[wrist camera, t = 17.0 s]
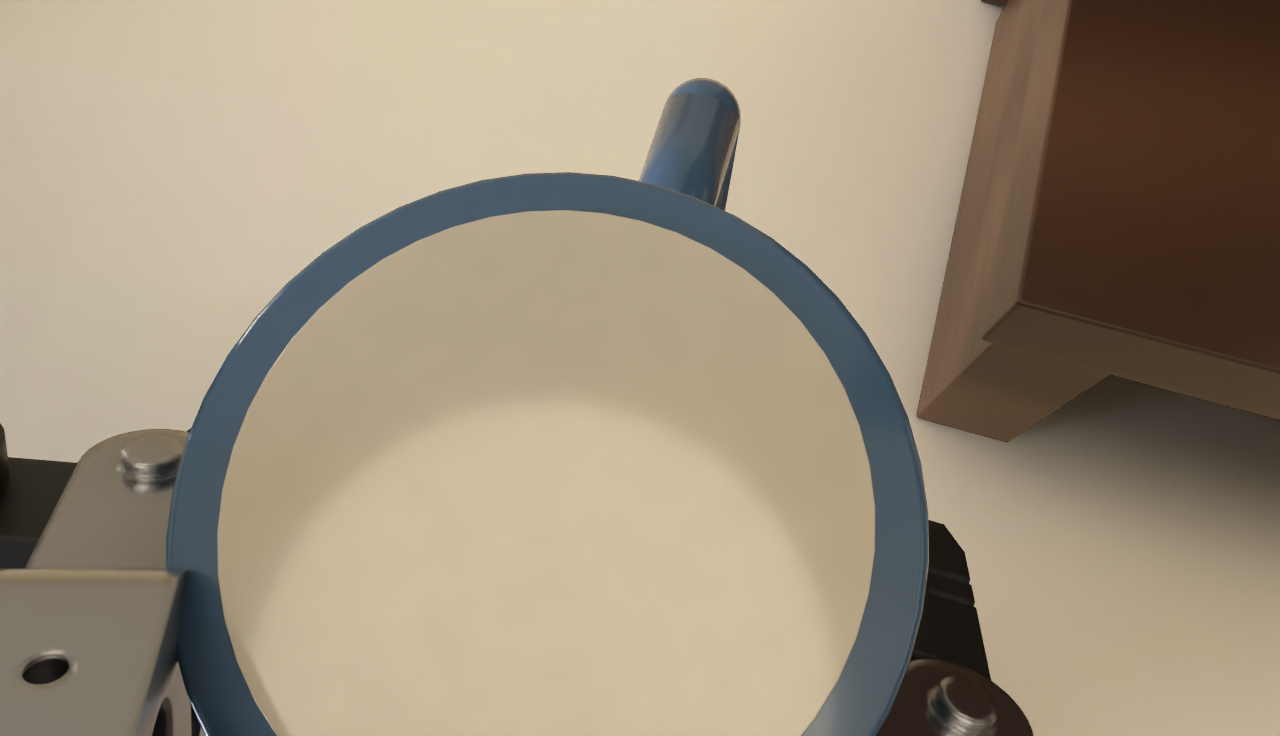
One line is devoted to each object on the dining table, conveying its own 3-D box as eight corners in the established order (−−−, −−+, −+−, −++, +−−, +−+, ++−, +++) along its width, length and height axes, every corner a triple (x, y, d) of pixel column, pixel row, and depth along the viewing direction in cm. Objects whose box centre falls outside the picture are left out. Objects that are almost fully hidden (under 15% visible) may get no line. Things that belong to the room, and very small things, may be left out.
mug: (721, 847, 14) (843, 1074, 6) (369, 731, 15) (7, 781, 6) (835, 366, 17) (1033, 39, 9) (534, 283, 18) (437, -100, 9)
